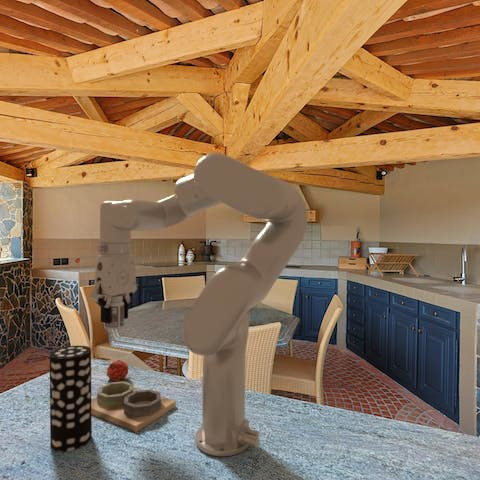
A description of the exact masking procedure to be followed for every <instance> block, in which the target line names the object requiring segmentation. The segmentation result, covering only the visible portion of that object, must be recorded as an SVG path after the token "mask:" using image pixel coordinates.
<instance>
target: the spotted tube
mask: <svg viewBox="0 0 480 480" xmlns="http://www.w3.org/2000/svg"><path fill="white" fill-rule="evenodd" d="M91 399H92V348H91V347H90V346H88V345H87V346H86V345H69V346H65V347H59V348H56V349H55V350H52V351H51V352H50V353H49V415H50V416H49V417H50V418H49V419H50V420H49V421H50V422H49V423H50V425H49V430H50V431H49V437H50V448H51V449H52V450H53V451H56V452H61V453H64V452H72V451H75V450H78V449H80V448H82V447H84V446H86V445H87V444H88V443H89V442H90V441H91V440H92V437H93V435H92V433H93V429H92V425H93V424H92V421H93V419H92V415H93V414H92V412H91Z"/></svg>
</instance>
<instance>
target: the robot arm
mask: <svg viewBox="0 0 480 480" xmlns="http://www.w3.org/2000/svg"><path fill="white" fill-rule="evenodd" d="M220 204H224V205H226V206H228V207H230V208H232V209H233V210H236V211H238V212H240V213H241V214H243V215H246V216H248V217H251V218H252V219H256V220H261V221H267V222H266V224H265V226H264V228H263V229H261V231H260V232H259V233H258V235H257V236H256V237H255V238H254V239H253V241H252V243H251V245H250V247H249V248H248V250H247V251H246V252H245V253H244V255H243V257H242V258H241V259H240V260H239V261H236V262H235V263H231V264H228V265H225V266H223V267H221V268H219V269H218V270H217V271H215V272H214V273H213V274H212V275H211V277H210V278H209V280H208V281H207V283H206V285H205V286H204V287H203V289H202V290H201V292H200V293H199V295H198V297H197V298H196V300H195V301H194V303H193V304H192V306H191V308H190V309H189V311H188V312H187V314H186V317H184V321H183V324H182V328H181V329H182V331H181V333H182V339H183V343H184V345H185V346H186V348H187V349H188V350H189V351H190V352H192V353H193V354H195V355H197V356H202V372H203V389H202V388H201V395H202V396H201V397H202V406H201V407H202V408H201V409H202V413H201V414H202V415H201V416H202V424H201V426H200V427H199V428H198V429H197V431H196V433H195V437H194V439H195V440H194V441H195V444H196V446H197V448H198V449H199V450H200V451H202V452H203V453H205V454H207V455H211V456H214V457H215V456H216V457H231V456H234V455H237V454H241V453H242V452H244V451H245V450H247V449H248V448H249V447H250V446H251V447H254V448H258V447H259V444H260V440H261V439H260V431H258V430H255V429H251V428H250V420H249V419H247V418H246V359H247V357H246V356H247V355H246V354H247V345H248V344H247V343H248V338H249V336H248V335H249V328H250V321H249V314H248V310H250V309H251V308H253V307H255V306H257V305H258V304H260V303H261V302H263V300H265V298H266V297H267V296H268V294H269V292H270V291H271V289H272V287H274V284H275V283H276V282H277V280H278V279H279V277H280V276H281V274H282V273H283V272H284V270H285V268H286V266H287V265H288V264H289V262H290V260H291V259H292V258H293V256H294V255H295V253H296V251H297V250H298V248H299V246H300V245H301V244H302V241H303V239H304V237H305V234H306V231H307V228H308V227H307V226H308V220H309V219H308V210H307V209H308V208H307V206H306V203H305V201H304V199H303V197H302V195H301V193H300V192H299V191H298V189H296V187H295V186H293V185H292V184H290V183H289V182H287V181H285V180H284V179H283V180H282V179H280V178H277V177H275V176H272V175H270V174H267V173H266V172H264V171H260V170H258V169H256V168H253V167H251V166H249V165H246V164H244V163H243V162H241V161H240V160H238V159H236V158H234V157H231V156H229V155H227V154H224V153H221V152H211V153H208V154H206V155H203V157H201V158H200V159H199V160H198V161H197V163H196V164H195V166H194V169H193V173H192V174H189V175H186V176H184V177H181V178H180V179H178V180H177V181H176V182H175V185H174V194H173V195H171V196H169V197H166V198H163V199H161V200H158V201H152V200H151V201H150V200H141V199H126V200H122V201H119V200H106V201H102V202H101V203H100V206H99V245H97V246H96V249H97V252H99V255H98V256H97V259H96V264H95V271H94V272H95V273H94V286H93V289H92V291H91V292H90V294H89V298H90V299H92V300H93V301H94V302H95V303H96V304H97V305H98V307H100V323H104V324H105V323H108V324H109V323H111V319H112V308H111V307H109V306H110V302H111V297H112V296H116V295H121V294H122V295H123V300H122V301H123V302H124V320H125V319H128V318H129V304H130V302H131V299H132V297H133V296H134V293H135V292H136V291H137V290H138V286H137V275H136V274H137V273H136V265H135V258H134V255H133V254H131V252H132V251H131V248H132V247H131V246H132V243H131V242H132V232H143V231H144V232H145V231H151V232H154V231H156V232H157V231H161V230H164V229H168V228H170V227H172V226H176V225H178V224H181V223H183V222H185V221H187V220H188V219H189V218H191V217H192V216H193V215H194V214H197V213H200V212H202V211H205V210H207V209H209V208H212V207H216V206H217V205H220Z"/></svg>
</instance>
